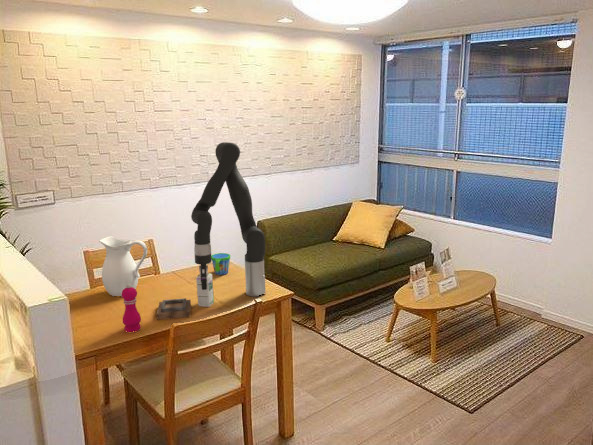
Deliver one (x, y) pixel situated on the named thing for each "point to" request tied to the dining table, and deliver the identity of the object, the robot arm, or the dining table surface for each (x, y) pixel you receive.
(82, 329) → the dining table surface
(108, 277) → the pitcher
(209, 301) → the syrup box
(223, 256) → the snack cup
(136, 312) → the pepper mill
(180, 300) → the plinth
